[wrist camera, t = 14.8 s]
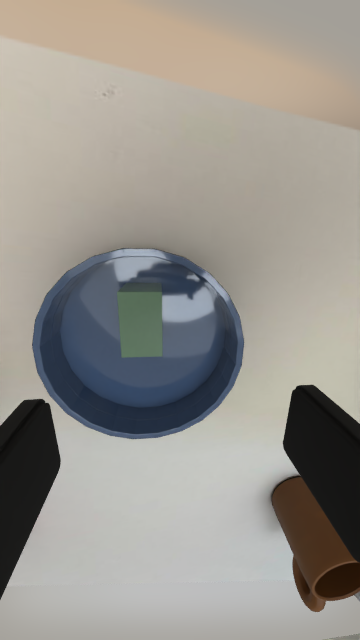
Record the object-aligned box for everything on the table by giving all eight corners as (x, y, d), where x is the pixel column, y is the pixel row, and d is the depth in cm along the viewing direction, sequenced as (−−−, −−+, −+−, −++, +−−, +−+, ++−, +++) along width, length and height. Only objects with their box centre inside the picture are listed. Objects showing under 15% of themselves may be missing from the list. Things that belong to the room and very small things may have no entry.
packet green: (126, 282, 21) (116, 291, 17) (161, 282, 22) (162, 291, 17) (129, 335, 23) (121, 357, 18) (161, 335, 23) (162, 356, 19)
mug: (296, 531, 36) (342, 623, 27) (253, 529, 35) (286, 624, 26) (326, 476, 33) (388, 560, 24) (280, 472, 32) (327, 559, 23)
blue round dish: (42, 247, 20) (11, 246, 16) (235, 250, 22) (254, 250, 18) (69, 412, 26) (51, 444, 21) (222, 404, 27) (234, 433, 23)
